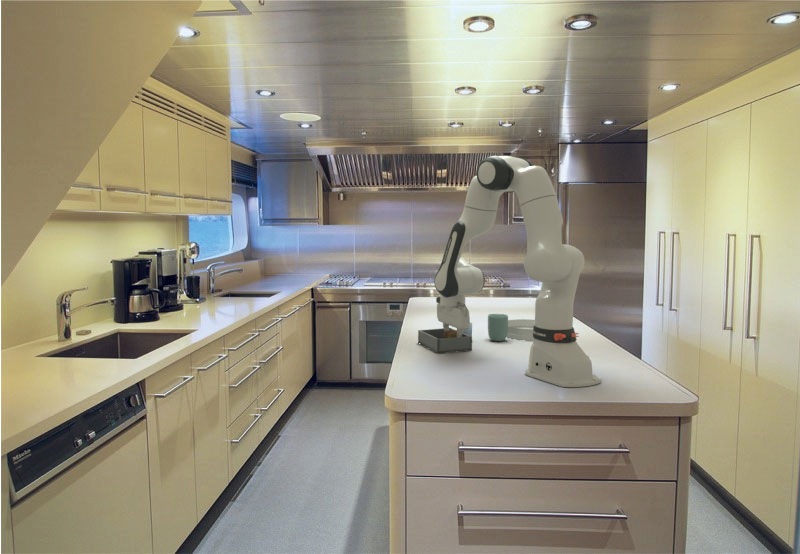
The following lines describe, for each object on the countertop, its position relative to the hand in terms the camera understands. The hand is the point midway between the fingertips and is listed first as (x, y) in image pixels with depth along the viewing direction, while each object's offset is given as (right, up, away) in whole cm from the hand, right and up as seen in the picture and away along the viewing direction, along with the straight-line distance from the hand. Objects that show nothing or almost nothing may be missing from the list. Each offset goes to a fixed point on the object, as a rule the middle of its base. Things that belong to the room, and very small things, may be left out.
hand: (452, 337), depth 194 cm
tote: (-3, -4, +1) cm, 5 cm away
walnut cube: (0, -3, 0) cm, 3 cm away
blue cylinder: (+6, -3, +11) cm, 13 cm away
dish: (+33, -2, +21) cm, 40 cm away
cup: (+19, -3, +12) cm, 22 cm away
